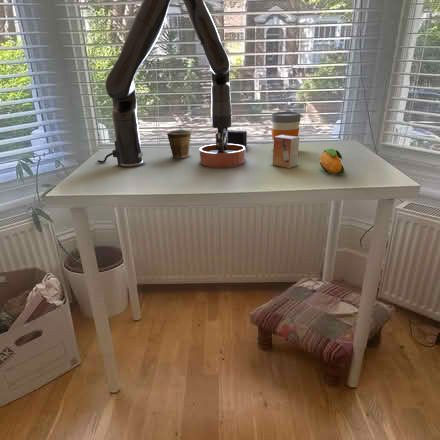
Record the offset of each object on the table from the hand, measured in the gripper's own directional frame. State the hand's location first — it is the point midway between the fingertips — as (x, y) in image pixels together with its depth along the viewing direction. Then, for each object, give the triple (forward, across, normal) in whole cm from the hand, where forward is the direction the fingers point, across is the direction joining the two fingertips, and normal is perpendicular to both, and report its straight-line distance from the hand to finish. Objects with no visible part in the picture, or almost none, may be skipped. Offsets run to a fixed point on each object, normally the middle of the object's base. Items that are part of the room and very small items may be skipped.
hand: (222, 157), depth 160 cm
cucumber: (+1, 0, 0) cm, 1 cm away
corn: (+2, +14, +42) cm, 44 cm away
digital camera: (+2, -31, +1) cm, 31 cm away
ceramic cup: (+2, -11, -21) cm, 24 cm away
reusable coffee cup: (+2, -23, +24) cm, 33 cm away
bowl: (+2, 0, 0) cm, 2 cm away
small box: (+2, +4, +25) cm, 25 cm away
